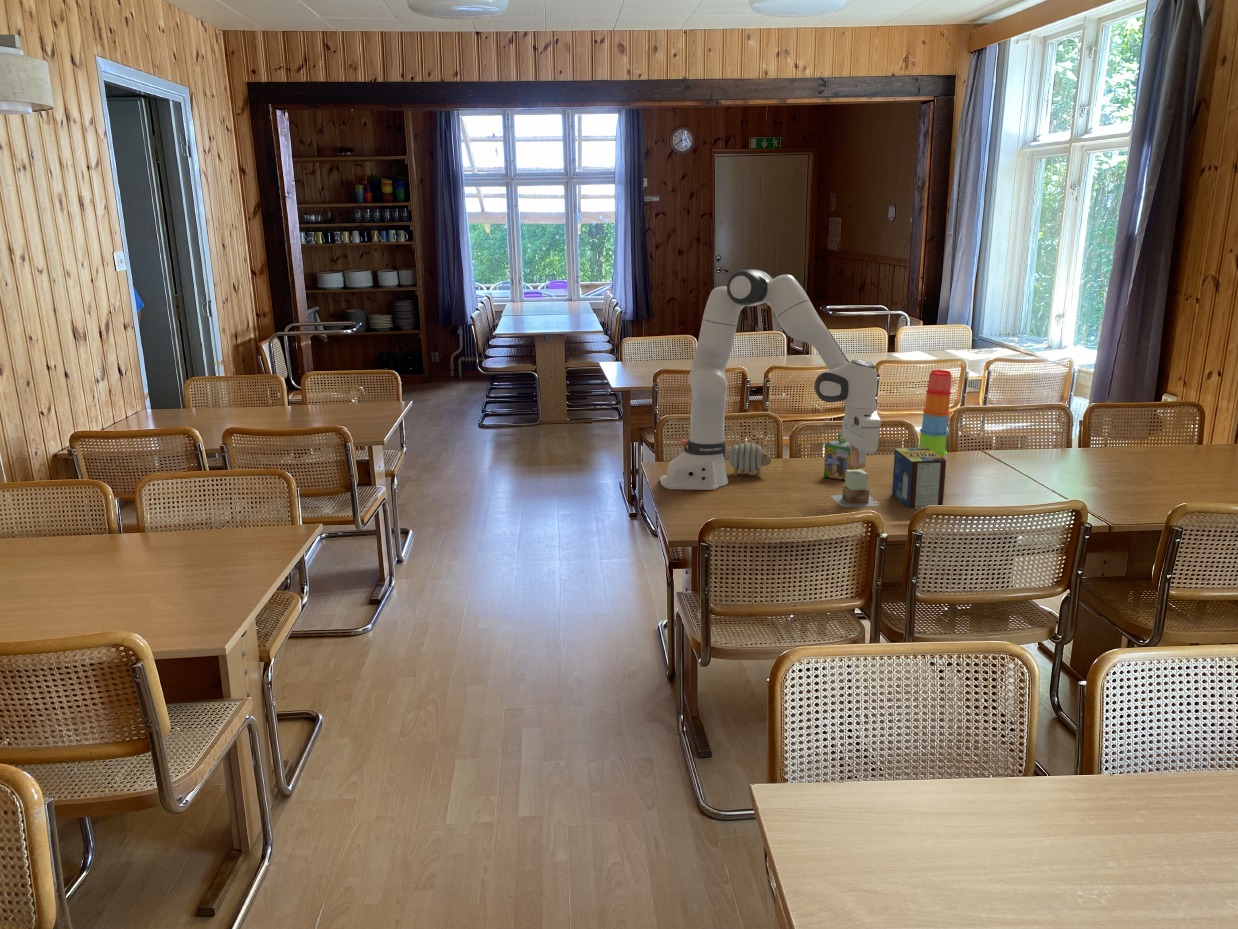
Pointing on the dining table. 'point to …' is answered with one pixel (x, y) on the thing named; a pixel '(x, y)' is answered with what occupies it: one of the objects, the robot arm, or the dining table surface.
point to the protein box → (918, 477)
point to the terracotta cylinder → (855, 459)
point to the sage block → (856, 479)
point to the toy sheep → (748, 458)
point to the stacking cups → (936, 412)
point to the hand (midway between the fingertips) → (857, 460)
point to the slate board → (845, 504)
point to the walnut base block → (855, 495)
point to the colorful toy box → (837, 458)
